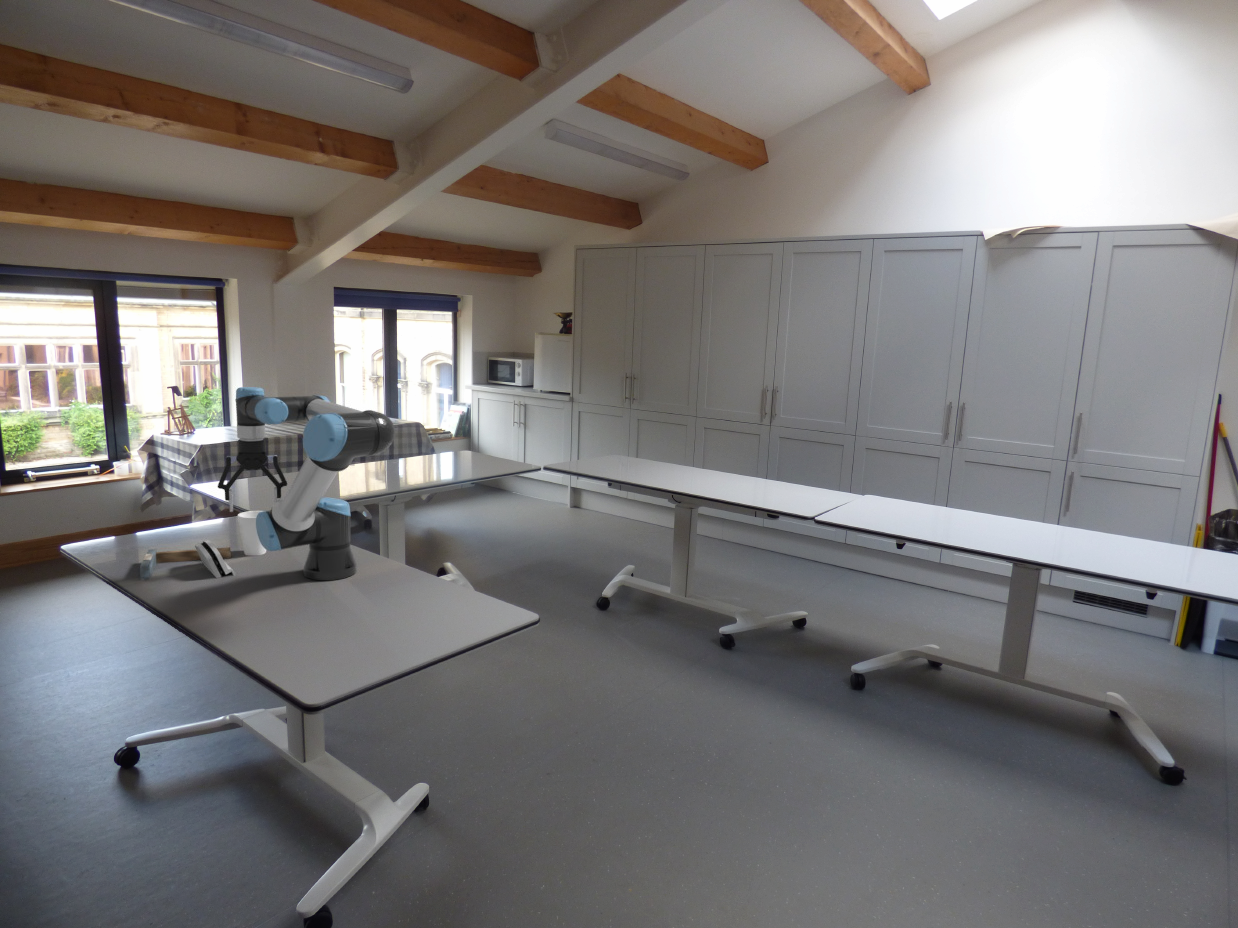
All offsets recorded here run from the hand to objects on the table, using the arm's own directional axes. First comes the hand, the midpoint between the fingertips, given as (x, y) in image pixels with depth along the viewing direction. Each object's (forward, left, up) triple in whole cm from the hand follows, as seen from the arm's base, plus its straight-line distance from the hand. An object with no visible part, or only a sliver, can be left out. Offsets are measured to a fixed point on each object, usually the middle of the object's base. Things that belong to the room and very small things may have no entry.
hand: (254, 509), depth 218 cm
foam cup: (0, -15, -18) cm, 24 cm away
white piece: (+11, 0, -19) cm, 22 cm away
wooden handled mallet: (+18, -5, -18) cm, 26 cm away
